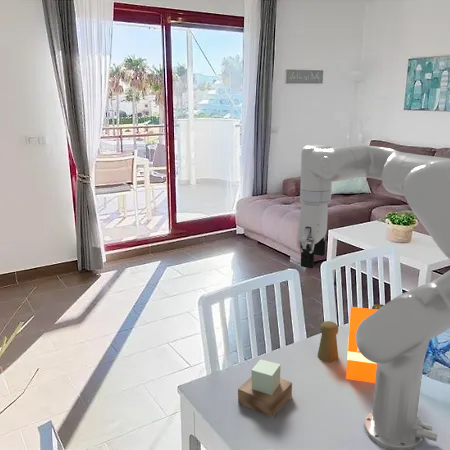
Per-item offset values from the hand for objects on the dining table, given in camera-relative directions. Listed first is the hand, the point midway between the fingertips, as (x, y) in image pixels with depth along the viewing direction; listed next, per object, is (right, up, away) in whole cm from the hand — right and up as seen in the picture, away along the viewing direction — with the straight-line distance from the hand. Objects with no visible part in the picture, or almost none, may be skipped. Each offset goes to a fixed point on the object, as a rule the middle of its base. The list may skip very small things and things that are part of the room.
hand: (313, 260), depth 118 cm
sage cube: (-12, -32, -1) cm, 34 cm away
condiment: (+26, -28, +27) cm, 47 cm away
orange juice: (+16, -33, +11) cm, 38 cm away
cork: (+8, -30, +19) cm, 37 cm away
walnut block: (-12, -36, +1) cm, 38 cm away
